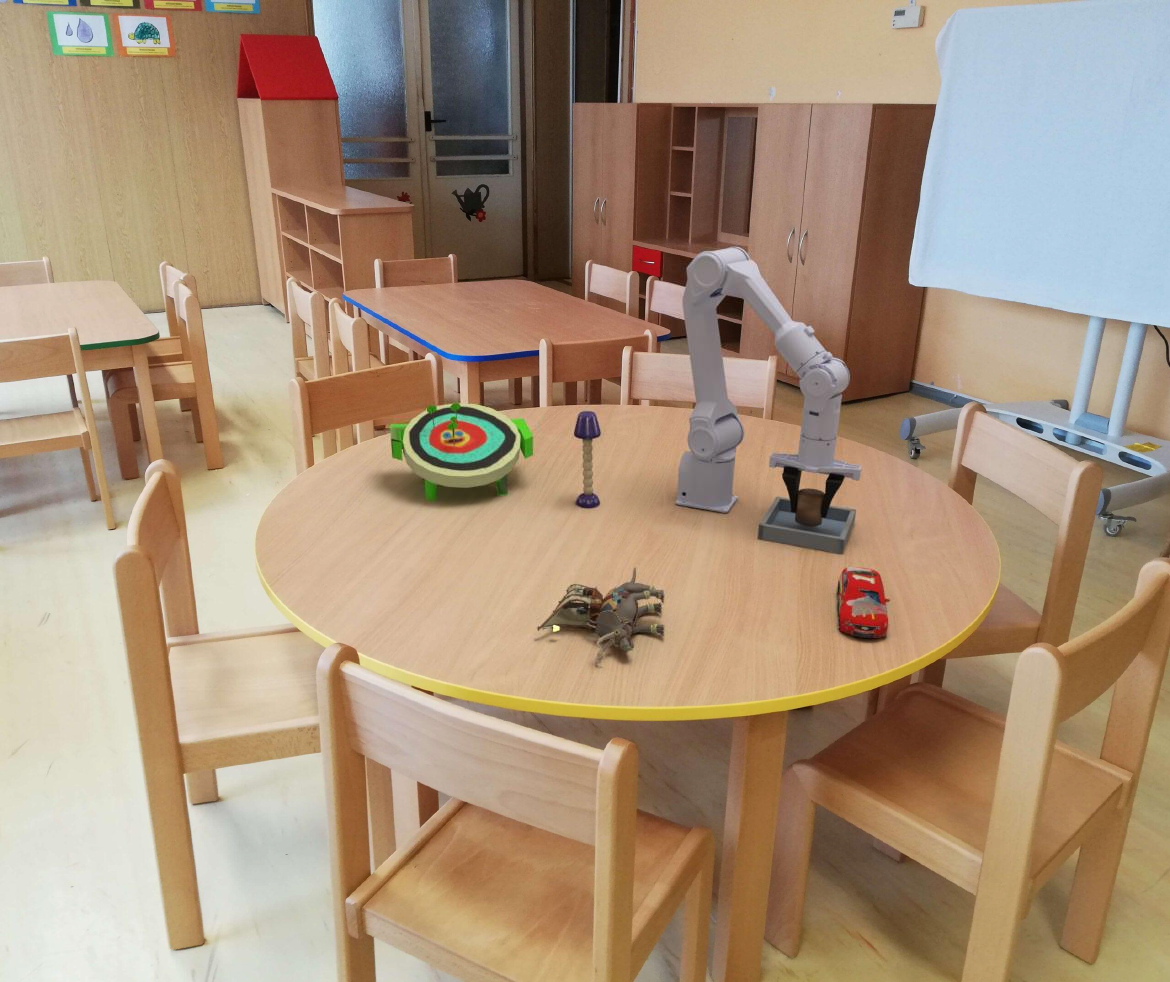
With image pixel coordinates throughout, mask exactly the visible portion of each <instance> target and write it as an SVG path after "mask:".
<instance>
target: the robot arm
mask: <svg viewBox="0 0 1170 982" xmlns="http://www.w3.org/2000/svg"><path fill="white" fill-rule="evenodd" d="M685 270H686V278H687V280H686V285H685V288H684V291H683V294H682V295H683V296H682V311H683V317H684V324H685V332H686V339H687V346H688V354H689V361H690V369H691V374H692V382H693V389H694V396H695V406H694V408H693V410H692V412H691V414H690V416H689V418H688V421H689V431H688V434H687V438H686V439H687V440H686V441H687V445H688V449H689V450H690V451H689V450H686V451H684V452H683V454H682V455H681V457H680V461H679V467H678V475H677V476H678V477H677V493H676V501H675V505H679V506H682V507H683V506H684V507H688V508H689V507H690V508H695V509H701V510H702V509H703V510H706V511H712V512H718V513H725V514H726V513H728V512H730V510H731V508H732V507H733V506H734V505H735V503H736V502H737V500H738V499H739V496H738V495H736V494H733V488H734V479H735V477H734V475H735V467H736V466H735V465H736V453H737V447H738V446H739V445H740V444H741V443H742V442H743V440H744V438H745V426H744V424H743V422H742V420H741V419H740V417H739V414H738V408H737V406H736V404H734V403H733V402H732V401H731V400H730V399H729V396H728V389H727V388H728V387H727V382H726V381H727V380H726V374H725V367H724V359H723V353H722V352H723V351H722V343H721V336H720V329H719V328H720V327H719V322H718V313H717V307H718V306H719V305H720V303H721V302H722V301H723V300H724V299H725V297H726V296H729V297H735V298H740V299H743V300H744V302H746V303H747V305H748V306H749V307H750V308H751V309H752V310H753V312H754V313H755V314H756V315H757V316H758V317H759V318H760V319H761V320H762V321H763V323H764V324H765V325H766V326H767V327H768V328H769V330H770V331H771V332H772V333H773V334H774V347H775V348H776V350H777V351H778V352H779V354H780V355H781V356H782V358H783V359H784V361H786V363H787V364H788V365H789V367H791V369H792V370H793V372H794V373H795V374H796V375H797V376H798V377H799V378H800V379H799V383H798V384H799V388H800V391H801V393H802V395H803V398H804V401H803V407H802V416H801V418H802V419H801V425H800V426H801V427H800V428H801V429H800V433H799V435H800V436H799V445H798V451H797V452H798V453H795V454H794V453H779V452H772V453H771V454H770V456H769V461H768V467H769V468H773V469H775V468H782V470H783V471H782V473H781V476H782V480H783V482H784V485H785V487H786V490H787V494H788V499H790V504H791V512H792V513H795V512H796V505H797V496H798V491H799V490H800V484H801V477H802V472H806V473H812V474H821V475H827V478H826V480H825V489H824V490H825V491H824V493H825V499H824V504H823V509H822V516H821V517H822V518H826V516H827V514H828V510H829V507H830V505H831V503H832V502H833V499H834V498H835V495H836V493H837V492H838V491H839V489H840V487H841V486H842V484H843V482H844V480H845V478H847V479H851V480H852V481H858V482H859V481H860V480H861V479H860V478H861V475H862V468H863V466H862V465H857V464H853V463H849V462H845V461H841V460H838V459H835V455H836V454H835V453H836V447H837V446H836V445H837V437H838V429H839V423H840V416H841V405H842V398H843V394H842V393H843V392H844V391H845V390H846V389H847V388H848V386H849V384H850V380H851V375H850V371H849V369H848V367H847V365H846V362H845V361H843V360H842V359H839V358H837V357H833V354H832V353H831V352H830V351H827V350H826V349H825V347H824V346H823V345H822V343H821V342H820V341H819V340H818V338H817V337H816V336H815V335H814V334H815V329H814V328H813V327H812V326H811V325H809V326H807V325H806V323H804V322H800V321H794V320H793V319H792V318H791V317H790V315H789V314H788V312H787V311H786V309H785V308H784V307H783V304H781V303H780V300H779V299H778V298H777V297H776V295H775V294H774V292H773V291H772V290H771V288H770V286H769V285H768V283H767V282H766V281H765V279H764V278H763V277H762V274H761V272H760V270H759V267H758V264H757V263H756V262H755V261H754V260H753V259H751V258H750V255H749V254H748V252H746V250H744V249H743V248H741V247H738V246H730V247H727V248H722V249H717V250H707V251H706V250H705V251H703V252H702V251H701V252H700V253H697V255H696V256H695V257H694V258H693V259H692V261H691V262H690V263H689V264H688V266H687V267H686V269H685Z"/></svg>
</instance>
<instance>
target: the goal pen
mask: <svg viewBox="0 0 1170 982" xmlns="http://www.w3.org/2000/svg"><path fill="white" fill-rule="evenodd" d="M795 514H796V512H795V513H792V512H791V504H790V498H789V497H788V498H787V497H783V496H782V497H780V496H775V498H774V500H773V502H772V503H771V505H770V506H769V508H768V510H767V512H766V513H765V514H764V516H763V518H762V519H761V521H760V522H759V524H758V531H757V532H758V533H757V539H758V540H762V541H767V542H768V541H769V542H774V543H780V544H785V545H789V546H796V547H801V548H806V549H812V550H816V551H817V550H818V551H823V552H829V553H833V554H834V553H835V554H839V555H843V554H844V551H845V548H846V547H847V543H848V541H849V538H850V535H851V533H852V530H853V527H854V525H855V522H856V514H857V509H855V508H848V507H842V506H837V505H831V504H830V507H829V510H828V514H827V516H826V518H822V524H821V525H819V526H813V527H811V526H803V525H800V524H798V523H797V522H795Z"/></svg>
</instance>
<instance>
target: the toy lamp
mask: <svg viewBox="0 0 1170 982" xmlns="http://www.w3.org/2000/svg"><path fill="white" fill-rule="evenodd" d="M601 435H602V432H601V428H600V424H599V420H598V417H597V413H596V412H595V411H592V410H591V411H590V410H584V411H581V412H579V413H578V414H577V418H576V422H575V427H574V431H573V436H574V437H575V438H577V439H579V440H581V441H582V444H583V445H582V452H583V453H582V460H583V461H582V468H583V470H582V476H583V478H582V479H583V480H582V484H583V488H582V489H583V490H582V491H583V493H580V494H579V495H578V496H577V498H576V501H575V505H577V506H578V507H581V508H584V509H592V508H596V507H599V506H600V504H601V501H600V498H599V496H598V495H597V494H595V493H594V488H593V487H594V486H593V484H594V480H593V476H594V472H593V466H594V465H593V445H592V444H593V441H594V440H595V439H598V438H599V437H600V436H601Z"/></svg>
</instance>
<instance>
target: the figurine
mask: <svg viewBox="0 0 1170 982" xmlns="http://www.w3.org/2000/svg"><path fill="white" fill-rule="evenodd" d="M636 579H637V567H634V568H633V570H632V577H631V580H630V582H629V581H628V582H623V583H622V584H621V585H619V586H618V587H617V585H616V586H615V587H612V589H610V590H609V591H608V592H607V593H606V594H605V596H603V594H602V593H601V592H600V590H599V589H598V587H597V586H595V587H590V586H586V585H583V584H578V583H574V584H570V585H569V586H568V587H567V588H566V590H565V592H566V594H565V595H563V597H562V599H560V600H559V601H558V604H557V606H556V608H555V609H554V610H552V613H551V614H550V616H549V617H548V618H547V619H546V620H544V622H543V623H541V625H540V626H537V627H536V630H537V631H538V632H539V631H540V630H541V629H543V630H552V633H555V632H559V631H560V630H562V629H563V628H562V627H561V626H563V627H569V628H570V627H571V628H579V629H581V630H585V629H586V628H588V629H589V635H590V634H591V632H592V629H593V628H594V629H595V632H596V634H597V636H598V639H597V641H596V647H597V648H600V650H599V651H598V652H597V657H596V666H598V665H599V664H600V663H603V662H604V661H605V658H606V657H605V652H606V650H608V648H610V647H612V646H614V647H615V648H618V647H619V648H620V649H622V650H623V652H624V653H628V652H630V651H633V650H634V649H633V648H635V644H634V643H633V640H632V638H631V636H632V635H633V634H637V633H652V634H659V635H660V636H661V637H663V638H665V625H664V624H658V623H657V624H656V623H654V624H651V625H642V624H641V625H640V624H637V623H638V619H639V618H640V617H641V616H642V615H644V614H652V613H654V612H655V613H659V614H660V615H661V616H662V615H663V610H662V609H663V607H662V606H663V604H665V591H664V589H657V586H656V585H654V584H652V585H648V584H643V583H640V582H636ZM651 597H653V598H654V597H655V598H656V599H658V600H661V601H660V602H657V603H652V602H651V603H650V602H648V603H646V604H645V605H642V606H639V603H638V601H641V600H645V601H646V600H647V601H648V600H649V599H651ZM603 641H607V642H606V643H605V644H604V645H603V647H602V646H601V645H600V644H601V643H603ZM602 655H603V659H602V660H601V661H600V658H601V657H602Z"/></svg>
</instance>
